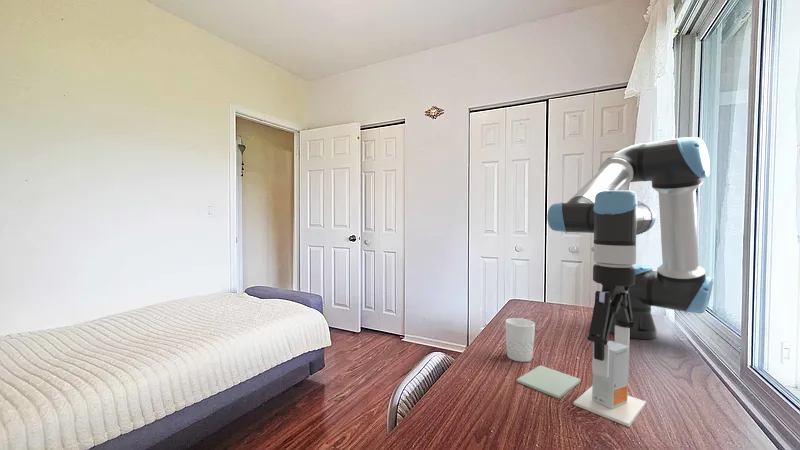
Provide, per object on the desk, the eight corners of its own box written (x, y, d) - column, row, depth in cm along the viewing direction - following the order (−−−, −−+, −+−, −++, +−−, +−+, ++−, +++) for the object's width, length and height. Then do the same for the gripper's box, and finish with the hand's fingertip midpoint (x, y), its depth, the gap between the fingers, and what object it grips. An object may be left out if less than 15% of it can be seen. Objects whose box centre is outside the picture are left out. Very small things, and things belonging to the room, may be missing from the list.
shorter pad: (540, 367, 89) (540, 365, 89) (580, 381, 81) (580, 379, 81) (516, 381, 81) (516, 379, 81) (559, 398, 73) (559, 396, 73)
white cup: (536, 364, 91) (537, 327, 90) (506, 361, 92) (507, 325, 92) (531, 353, 98) (532, 318, 98) (503, 350, 100) (504, 317, 100)
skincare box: (612, 410, 68) (613, 351, 68) (591, 400, 72) (592, 344, 72) (628, 402, 71) (630, 346, 71) (608, 393, 75) (609, 339, 74)
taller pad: (594, 386, 79) (594, 383, 79) (645, 404, 72) (645, 401, 72) (573, 404, 71) (573, 401, 71) (629, 427, 64) (629, 423, 64)
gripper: (612, 257, 82) (611, 344, 82) (570, 268, 65) (568, 376, 66) (650, 261, 76) (648, 353, 77) (614, 273, 60) (612, 392, 60)
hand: (611, 364), depth 71 cm, fingers open, 13 cm apart
